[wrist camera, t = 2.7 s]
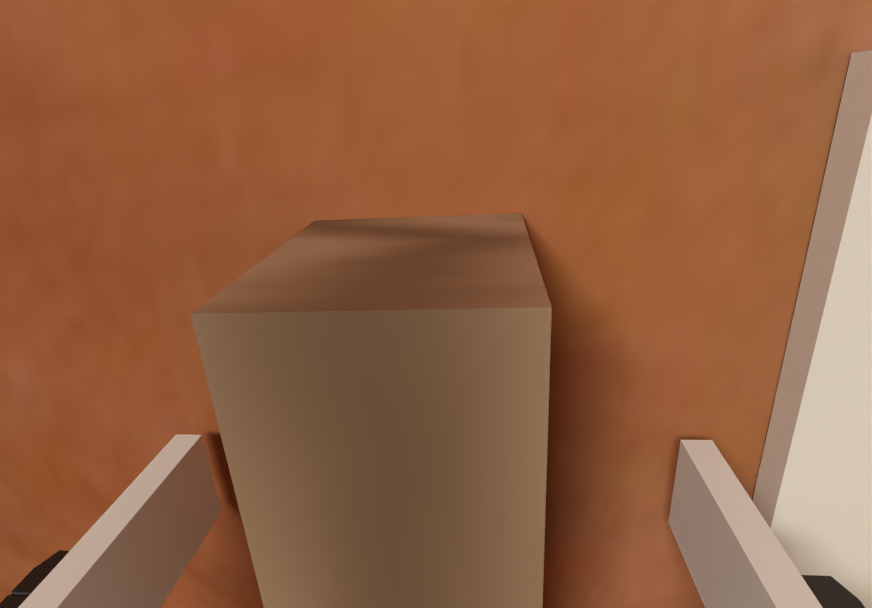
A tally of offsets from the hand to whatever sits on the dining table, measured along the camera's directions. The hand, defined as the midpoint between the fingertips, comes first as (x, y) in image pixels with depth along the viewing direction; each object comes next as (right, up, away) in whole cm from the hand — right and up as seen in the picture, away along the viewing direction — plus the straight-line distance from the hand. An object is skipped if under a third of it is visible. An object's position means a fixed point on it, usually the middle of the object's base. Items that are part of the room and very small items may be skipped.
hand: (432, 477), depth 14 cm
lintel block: (0, 0, +1) cm, 1 cm away
